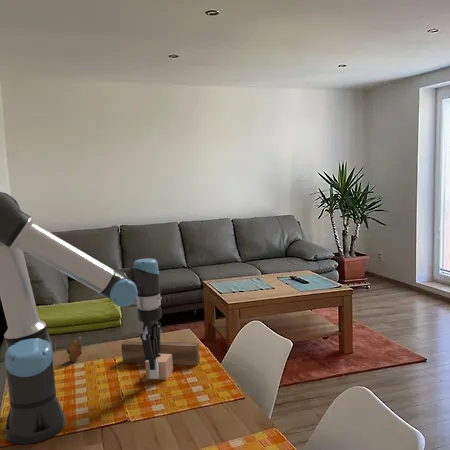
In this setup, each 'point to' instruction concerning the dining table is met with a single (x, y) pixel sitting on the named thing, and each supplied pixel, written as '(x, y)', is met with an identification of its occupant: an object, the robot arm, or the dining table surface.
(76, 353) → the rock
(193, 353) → the walnut rail
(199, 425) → the dining table surface
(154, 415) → the dining table surface
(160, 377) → the block
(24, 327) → the robot arm
